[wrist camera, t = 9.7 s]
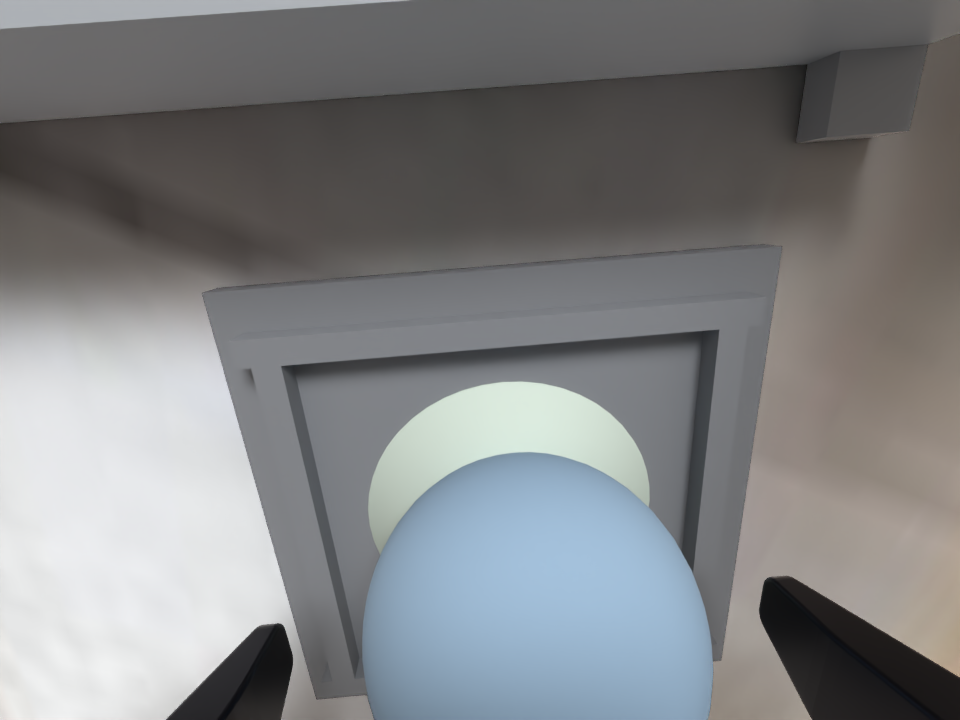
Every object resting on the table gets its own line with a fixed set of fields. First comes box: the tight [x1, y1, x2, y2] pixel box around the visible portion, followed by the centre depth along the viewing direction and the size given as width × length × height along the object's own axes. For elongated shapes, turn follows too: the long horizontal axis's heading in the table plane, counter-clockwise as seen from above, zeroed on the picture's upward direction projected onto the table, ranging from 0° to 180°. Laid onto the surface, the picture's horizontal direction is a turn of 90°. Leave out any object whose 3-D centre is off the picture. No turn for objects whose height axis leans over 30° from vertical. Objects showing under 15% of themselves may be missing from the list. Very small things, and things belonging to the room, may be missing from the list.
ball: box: [362, 452, 713, 720], centre depth 8 cm, size 6×6×6 cm
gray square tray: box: [202, 244, 782, 699], centre depth 11 cm, size 12×12×1 cm
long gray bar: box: [0, 0, 960, 143], centre depth 6 cm, size 20×4×4 cm, turn 94°
